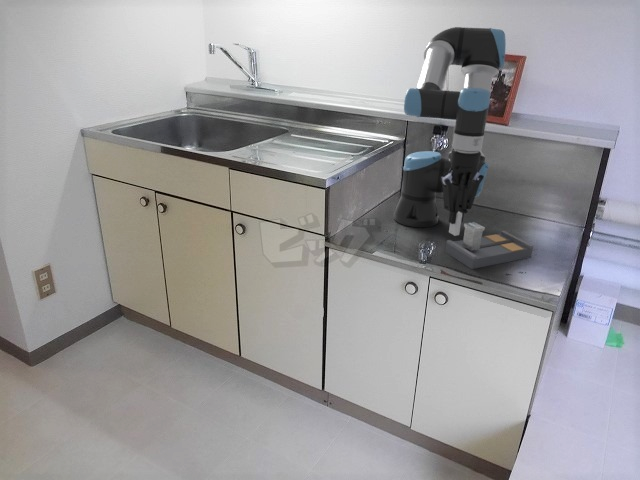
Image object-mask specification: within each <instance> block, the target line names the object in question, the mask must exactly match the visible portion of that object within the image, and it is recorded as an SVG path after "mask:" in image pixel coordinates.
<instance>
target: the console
mask: <svg viewBox="0 0 640 480" xmlns="http://www.w3.org/2000/svg"><path fill="white" fill-rule="evenodd" d="M462 244H463V239H462V240H455V241H453V240H451V239H448V240H446V246H445V253H447V254H448V255H449V256H451V258H453V259H455V260H457V261H458V262H460V263H462V264H463V265H465V266H466V267H468V268H469V269H471V270H476V269H479V268H484V267H489V266H495V265H499V264H504V263H505V264H506V263H508V262H514V261H519V260H523V259H529V258H532V253H533V248H534V245H533V244H531V243H529V242H528V241H525V240H524V239H521V238H519V237H518V236H515V235H514V234H512V233H510V232H507V231H506V230H501V231H500V233H497V234H489V235H484V236H482V238H481V244H480V249H479V250H473V251H471V250H469V249H467V248H466V247H464V246H462Z"/></svg>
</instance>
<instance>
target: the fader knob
mask: <svg viewBox="0 0 640 480" xmlns="http://www.w3.org/2000/svg"><path fill="white" fill-rule="evenodd" d="M463 227H464V232H463V233H464V234H463V238H462V240H463V244H462V246H464V247H466V248H467V249H469V250H471V251H473V250H479V249H480V244H481V238H482V237H483V232H484V231H485V229H486V227H485V226H483V225H481V224H478V223H477V222H475V221H472V222H465V223H463Z"/></svg>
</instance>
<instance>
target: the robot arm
mask: <svg viewBox="0 0 640 480" xmlns="http://www.w3.org/2000/svg"><path fill="white" fill-rule="evenodd" d="M505 57H506V34H505V31H504V30H503V29H497V28H492V27H489V28H487V27H485V28H481V27H462V26H455V27H450V28H447V29H445V30H442V31H441V32H439V33H437V34H436V35H434V37H432V38H431V39H430V41H429V42H428V43H427V44H426V47H425V49H424V52H423V59H424V62H423V65H422V69H421V72H420V75H419V79H418V82H417V84H416V87H414V88H412V87H411V88H410V87H409V88H408V89H407V90H406V93H405V96H404V106H403V112H404V114H405V115H406V116H410V117H416V118H426V119H427V118H429V119H440V120H441V119H443V120H454V121H455V125H454V132H453V136H452V137H453V138H452V144H451V147H452V148H453V149H452V150H451V151H450V152H448V155H447V158H443V156H442V154H441V152H438V151H430V150H429V151H428V150H426V151H425V150H424V151H423V150H422V151H415V152H413V153H410V154H408V155H407V156H406V157H405V159H404V164H403V165H404V166H403V167H402V170H403V172H402V173H403V175H402V183H401V191H400V197H399V200H398V202H397V204H396V208H395V209H394V211H393V219H394V221H396V222H397V223H399V224H401V225H403V226H408V227H412V228H429V227H434V226H436V225H437V224H438V222H439V211H438V207H437V201H436V198H437V194H440V195H443V209H444V210H446V211H449V217H448V222H449V227H448V228H449V229H448V233H449V234H451V235H453V236H454V237H456V236H460V232H461V225H462V223H463V222H464V217H465V214H467V213H468V210H471V209H472V208H473V204H474V201H475V199H476V198H477V197H479V196H480V195H481V193H482V191H483V187H484V184H485V180H486V177H487V173H488V170H489V167H490V163H488V162H487V161H486V155H485V154H484V153H483V151H482V149H483V144H484V138H485V130H486V124H487V120H488V113H489V108H490V103H491V101H490V99H491V91H492V90H491V89H492V84H493V83H492V82H493V78H494V77H495V76H497V75H498V73H499V69H502V68H504V66H505V59H506V58H505ZM450 66H461V68H460V72H461V73H462V74H463V76H464V81H463V86H462V87H463V88H461V90H459V91H455V90H454V91H453V90H444V88H445V83H446V79H447V76H448V71H449V67H450Z"/></svg>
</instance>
